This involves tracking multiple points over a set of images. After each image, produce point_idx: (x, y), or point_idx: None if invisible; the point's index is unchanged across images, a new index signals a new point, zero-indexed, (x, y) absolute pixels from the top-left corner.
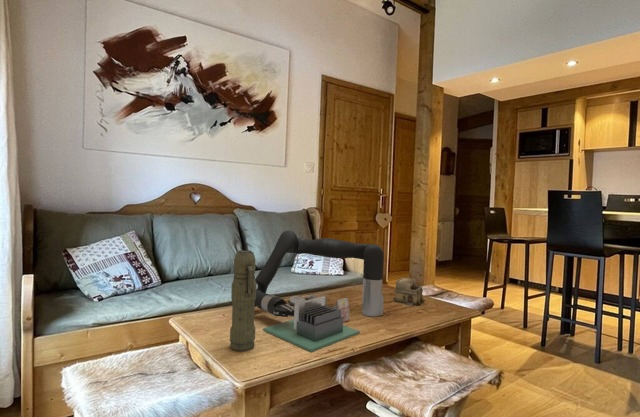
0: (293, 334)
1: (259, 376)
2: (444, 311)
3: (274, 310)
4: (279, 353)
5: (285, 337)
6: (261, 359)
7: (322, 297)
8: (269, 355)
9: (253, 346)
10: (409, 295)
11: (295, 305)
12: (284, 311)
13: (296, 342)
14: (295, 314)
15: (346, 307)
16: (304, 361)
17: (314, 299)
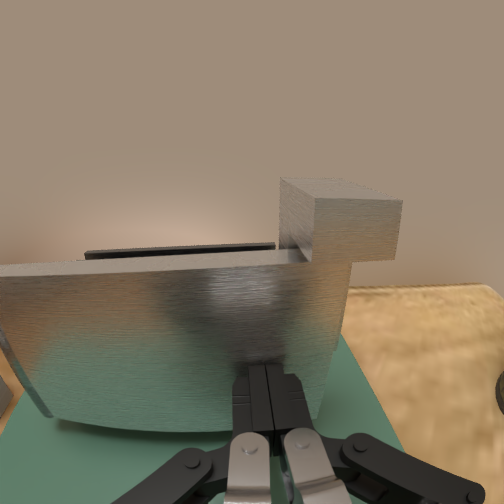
0: (319, 426)
1: (460, 284)
2: None
3: (479, 490)
4: (420, 336)
5: (376, 409)
6: (466, 325)
7: (12, 265)
8: (448, 335)
9: (499, 380)
10: None
11: (341, 269)
12: (389, 447)
13: (348, 354)
14: (342, 313)
15: None
16: (363, 292)
17: (86, 263)
